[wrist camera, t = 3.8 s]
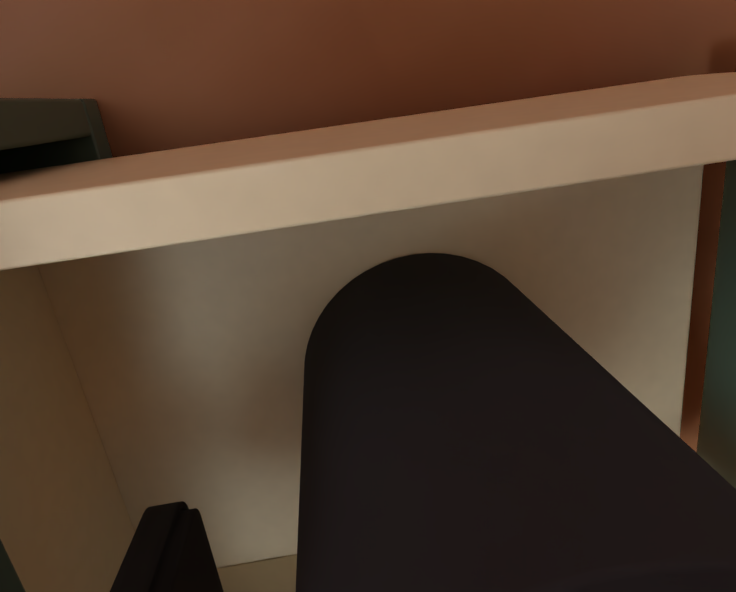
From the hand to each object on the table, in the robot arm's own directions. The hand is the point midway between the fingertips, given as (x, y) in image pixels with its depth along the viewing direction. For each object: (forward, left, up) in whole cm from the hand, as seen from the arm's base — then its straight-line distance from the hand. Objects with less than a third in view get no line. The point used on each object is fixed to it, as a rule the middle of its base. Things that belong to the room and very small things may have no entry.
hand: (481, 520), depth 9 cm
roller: (0, 0, -5) cm, 5 cm away
